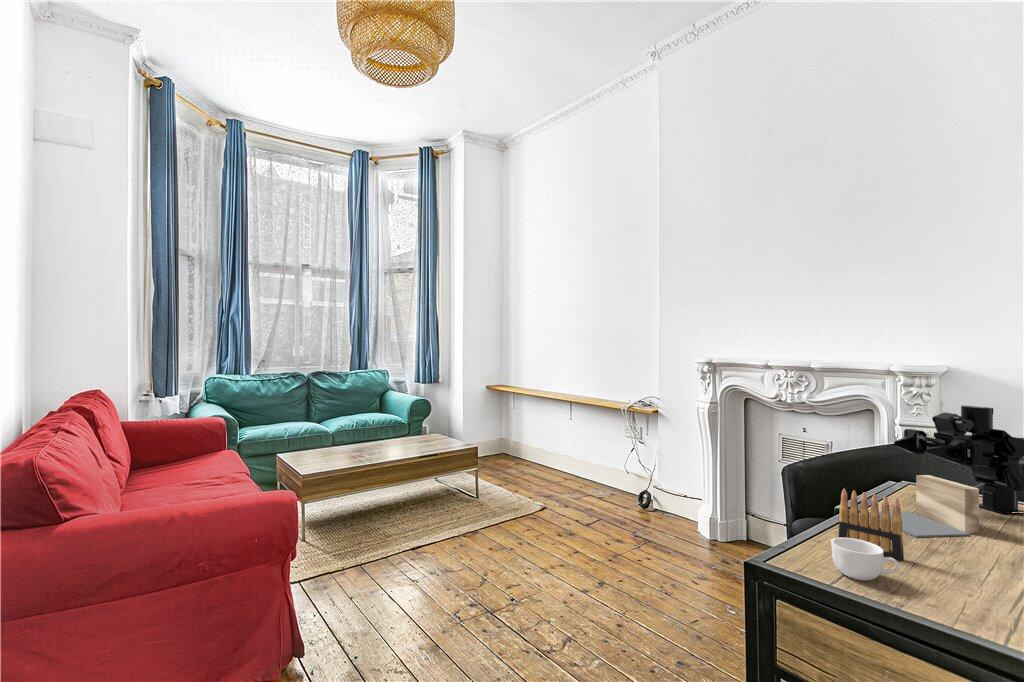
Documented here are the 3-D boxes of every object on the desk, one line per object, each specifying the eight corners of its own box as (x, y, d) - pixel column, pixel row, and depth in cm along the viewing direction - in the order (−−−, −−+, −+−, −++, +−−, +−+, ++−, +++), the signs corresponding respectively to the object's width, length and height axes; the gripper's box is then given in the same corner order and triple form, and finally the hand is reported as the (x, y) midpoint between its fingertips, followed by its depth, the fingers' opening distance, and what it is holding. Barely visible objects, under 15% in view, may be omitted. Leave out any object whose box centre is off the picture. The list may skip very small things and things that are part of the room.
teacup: (828, 576, 89) (828, 546, 89) (833, 562, 95) (833, 534, 95) (899, 593, 83) (899, 561, 83) (899, 577, 89) (899, 547, 89)
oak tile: (929, 515, 123) (928, 475, 123) (979, 533, 111) (978, 488, 111) (916, 515, 123) (916, 475, 123) (965, 533, 111) (964, 489, 111)
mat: (909, 513, 124) (909, 511, 124) (970, 535, 109) (969, 534, 109) (861, 514, 123) (861, 512, 123) (916, 537, 108) (916, 535, 108)
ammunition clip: (837, 545, 103) (837, 488, 103) (840, 543, 104) (840, 486, 104) (902, 562, 95) (902, 500, 95) (903, 559, 96) (903, 498, 97)
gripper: (931, 410, 136) (879, 410, 134) (1005, 420, 117) (945, 420, 116) (931, 450, 136) (879, 451, 134) (1005, 467, 117) (946, 468, 115)
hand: (910, 447), depth 125 cm, fingers open, 9 cm apart
